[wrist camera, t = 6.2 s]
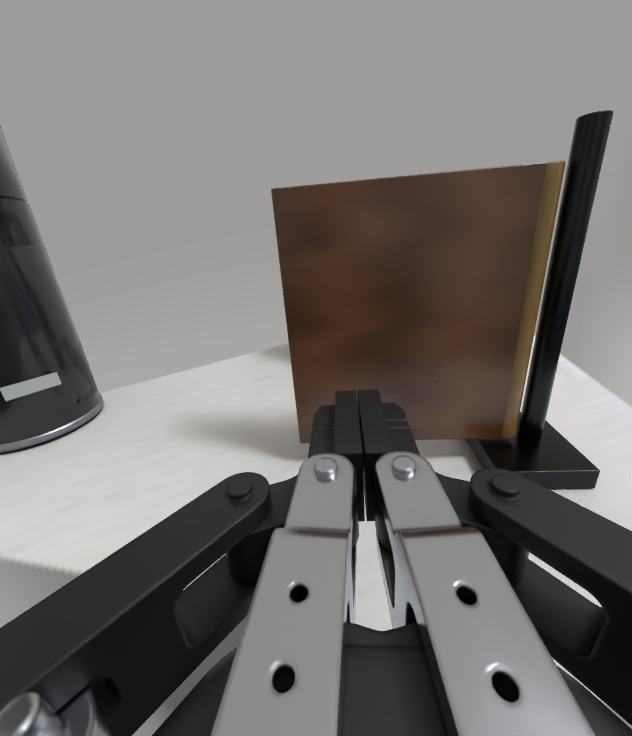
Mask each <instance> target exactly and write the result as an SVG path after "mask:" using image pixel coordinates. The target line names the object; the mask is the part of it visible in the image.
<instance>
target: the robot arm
mask: <svg viewBox="0 0 632 736" xmlns="http://www.w3.org/2000/svg"><path fill="white" fill-rule="evenodd" d="M43 244H44V243H43V241H42V238H41V235H40V233H39V230H38V227H37V225H36V222H35V219H34V217H33V214H32V211H31V209H30V206H29V204H28V203H27V198H26V195H25V193H24V190H23V188H22V185H21V183H20V180H19V177H18V174H17V172H16V169H15V166H14V163H13V160H12V157H11V155H10V152H9V149H8V146H7V144H6V141H5V138H4V135H3V132H2V130H1V127H0V452H7V451H13V450H17V449H22V448H26V447H29V446H33V445H36V444H39V443H43V442H45V441H48V440H51V439H53V438H56V437H59V436H61V435H63V434H65V433H67V432H70V431H72V430H74V429H75V428H77V427H79V426H81V425H83V424H84V423H86V422H87V421H89V420H90V419H92V418H93V417H94V416H95V415H97V414H98V413H99V412H100V410H101V409H102V407H103V405H104V401H103V399H102V396H101V394H100V393H99V392H98V389H97V387H96V384H95V381H94V379H93V376H92V373H91V370H90V367H89V364H88V362H87V359H86V356H85V353H84V351H83V348H82V345H81V342H80V340H79V337H78V335H77V332H76V329H75V326H74V324H73V321H72V318H71V316H70V313H69V310H68V308H67V305H66V302H65V300H64V297H63V294H62V291H61V289H60V286H59V284H58V281H57V278H56V275H55V273H54V270H53V267H52V265H51V262H50V259H49V256H48V254H47V251H46V248H45V246H44V245H43ZM357 398H358V406H357ZM364 496H365V506H366V516H367V521H375V524H376V539H377V551H378V556H379V561H380V566H381V571H382V576H383V581H384V585H385V590H386V595H387V600H388V605H389V610H390V615H391V620H392V626H393V629H391V630H387V631H377V630H373V629H370V628H367V627H363V626H360V625H357V624H355V604H356V566H357V541H358V537H359V525H358V521H365V519H364ZM529 552H530V553H532V554H533V555H535V556H536V557H538V558H539V559H541V560H542V561H544V562H545V563H547V564H548V565H550V566H551V567H553V568H554V569H556V570H557V571H559V572H560V573H562V574H563V575H565V576H566V577H568V578H569V579H571V580H572V581H574V582H575V583H577V584H578V585H580V586H581V587H583V588H584V589H586V590H587V591H588V592H590V593H591V594H592V595H593V596H594V597H595V598H596V599H597V600H598V602H599V603H600V604H601V606H602V607H603V608H602V607H599V606H597V605H595V604H594V603H592V602H591V601H589V600H588V599H586V598H585V597H583V596H582V595H580V594H579V593H578V592H576V591H575V590H573V589H572V588H570V587H569V586H567V585H566V584H564V583H563V582H561V581H560V580H558V579H557V578H556V577H554V576H553V575H551V574H550V573H548V572H547V571H545V570H544V569H542V568H541V567H539V566H538V565H537V564H535V563H534V562H532V561H531V560H529V559H528V555H529ZM224 554H225V556H223V557H222V558H221V559H220V560H219V561H218V562H216V563H215V564H214V565H213V566H212V567H210V568H209V569H208V570H207V571H206V572H205V573H203V574H202V575H201V576H200V577H199V578H197V579H196V580H195V581H194V582H193V583H192V584H190V585H189V586H188V587H187V588H186V589H184V588H185V587H186V586H187V585H188V584H189V583H190V582H192V581H193V580H194V579H195V578H196V577H198V576H199V575H200V574H201V573H202V572H203V571H205V570H206V569H207V568H208V567H209V566H211V565H212V564H213V563H214V562H215V561H217V560H218V559H219V558H220V557H221V556H222V555H224ZM183 589H184V590H183ZM246 616H247V618H246V621H245V625H244V628H243V631H242V634H241V638H240V641H239V645H238V647H237V648H235V649H234V650H233V651H231V652H230V653H229V654H227V655H226V656H225V657H223V658H222V659H221V660H220V661H219V662H218V663H217V664H216V665H215V666H214V667H212V668H211V669H210V670H209V672H208V673H207V674H206V675H205V676H204V677H203V678H202V679H201V680H200V681H199V683H198V684H197V685H196V686H195V687H194V689H192V691H191V692H190V693H189V694H188V695H187V696H186V697H185V699H184V700H183V701H182V702H181V703H180V704H179V706H178V707H177V708H176V709H175V710H174V711H173V712H172V713H171V714H170V716H169V717H168V718H167V719H166V720H165V721H164V722H163V724H162V725H161V726H160V727H159V728H158V729H157V730H156V732H155V733H154V734H153V735H152V736H632V729H631V728H630V727H628V726H627V725H626V724H625V723H624V722H623V721H622V720H621V719H620V718H619V717H617V716H616V715H615V714H614V713H613V712H612V711H611V710H610V709H608V708H607V707H606V706H605V705H604V704H603V703H602V702H601V701H600V700H598V699H597V698H596V697H595V696H594V695H593V694H592V693H591V692H590V691H588V690H587V689H586V688H585V687H584V686H583V685H581V684H580V683H579V682H578V681H577V680H575V679H574V678H573V677H571V676H570V675H569V674H567V673H566V672H565V671H563V670H562V669H561V668H559V667H558V666H556V664H555V663H554V661H553V659H555V660H556V661H557V662H558V663H559V664H560V665H562V666H563V667H564V668H565V669H566V670H567V671H569V672H570V673H571V674H572V675H573V676H574V677H576V678H577V679H578V680H579V681H580V682H581V683H583V684H584V685H585V686H586V687H587V688H588V689H590V690H591V691H592V692H593V693H594V694H595V695H597V696H598V697H599V698H600V699H601V700H602V701H604V702H605V703H606V704H607V705H608V706H609V707H611V708H612V709H613V710H614V711H615V712H616V713H618V714H619V715H620V716H621V717H622V718H623V719H625V720H626V721H627V722H628V723H629V724H631V725H632V531H630V530H628V529H626V528H624V527H622V526H620V525H618V524H616V523H614V522H612V521H610V520H608V519H606V518H604V517H602V516H600V515H598V514H596V513H594V512H592V511H590V510H588V509H586V508H584V507H582V506H580V505H578V504H577V503H575V502H573V501H571V500H569V499H567V498H565V497H563V496H561V495H559V494H557V493H555V492H553V491H551V490H549V489H547V488H545V487H543V486H541V485H539V484H537V483H535V482H533V481H531V480H529V479H527V478H525V477H523V476H521V475H519V474H517V473H514V472H512V471H509V470H505V469H499V468H486V469H482V470H479V471H477V472H475V473H474V474H473V475H472V477H471V480H470V482H469V481H464V480H459V479H454V478H450V477H446V476H443V475H441V474H438V473H436V472H435V471H434V470H433V468H432V466H431V464H430V463H429V462H428V461H427V460H426V459H425V458H423V457H422V456H420V454H419V451H418V448H417V445H416V443H415V440H414V437H413V434H412V432H411V429H410V426H409V423H408V421H407V418H406V415H405V412H404V410H403V409H402V408H401V407H399V406H398V405H397V404H396V403H382V402H381V398H380V394H379V390H378V389H373V390H357V397H356V390H351V391H335V405H321V406H320V407H319V408H318V409H317V410H316V412H315V413H314V416H313V424H312V432H311V439H310V447H309V454H308V459H307V460H305V461H304V462H303V463H302V465H301V467H300V469H299V473H298V475H296V476H295V477H293V478H291V479H288V480H286V481H282V482H279V483H275V484H271V485H269V483H268V481H267V480H266V478H265V477H263V476H262V475H260V474H257V473H252V472H245V473H239V474H235V475H232V476H230V477H228V478H226V479H225V480H223V481H221V482H220V483H218V484H217V485H215V486H214V487H212V488H211V489H209V490H208V491H206V492H205V493H203V494H202V495H200V496H199V497H197V498H196V499H194V500H193V501H191V502H190V503H188V504H187V505H185V506H184V507H182V508H181V509H179V510H178V511H176V512H175V513H173V514H172V515H170V516H169V517H167V518H166V519H164V520H163V521H161V522H160V523H158V524H157V525H155V526H154V527H152V528H151V529H149V530H148V531H146V532H145V533H143V534H142V535H140V536H139V537H137V538H136V539H134V540H133V541H131V542H129V543H128V544H126V545H125V546H123V547H122V548H120V549H119V550H117V551H116V552H114V553H113V554H111V555H110V556H108V557H107V558H105V559H104V560H102V561H101V562H99V563H98V564H96V565H95V566H93V567H92V568H90V569H89V570H87V571H86V572H84V573H83V574H81V575H80V576H78V577H77V578H75V579H74V580H72V581H71V582H69V583H68V584H66V585H65V586H63V587H62V588H60V589H59V590H57V591H56V592H54V593H53V594H51V595H50V596H48V597H47V598H45V599H44V600H42V601H41V602H39V603H38V604H36V605H35V606H33V607H32V608H30V609H29V610H27V611H25V612H24V613H22V614H21V615H19V616H18V617H16V618H15V619H14V620H12V621H11V622H9V623H7V624H6V625H4V626H3V627H1V628H0V736H131V735H133V734H134V733H135V732H136V731H137V730H138V728H139V727H140V726H141V725H142V724H143V723H144V722H145V721H146V720H147V719H148V718H149V717H150V716H151V715H152V714H153V713H154V712H155V711H156V710H157V709H158V708H159V707H160V705H161V704H162V703H163V702H164V701H165V700H166V699H167V698H168V697H169V696H170V695H171V694H172V693H173V692H174V691H175V690H176V689H177V687H179V686H180V685H181V684H182V682H183V681H184V680H185V679H186V678H187V677H188V676H189V675H190V674H191V673H192V672H193V671H194V670H195V669H196V668H197V667H198V666H199V665H200V663H202V662H203V660H204V659H205V658H206V657H207V656H208V655H209V654H210V653H211V652H212V651H213V650H214V649H215V648H216V647H217V646H218V645H219V644H220V643H221V642H222V641H223V640H224V639H225V637H226V636H227V635H228V634H229V633H230V632H231V631H232V630H233V629H234V628H235V627H236V626H237V625H238V624H239V623H240V622H241V621H242V620H243V619H244V618H245V617H246ZM552 658H553V659H552Z"/></svg>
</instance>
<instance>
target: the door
mask: <svg viewBox="0 0 632 736" xmlns="http://www.w3.org/2000/svg"><path fill="white" fill-rule="evenodd" d="M564 168H565V161H552V162H543V163H533V164H522V165H513V166H502V167H491V168H481V169H471V170H462V171H461V170H460V171H450V172H440V173H429V174H419V175H409V176H399V177H388V178H378V179H368V180H357V181H347V182H338V183H327V184H316V185H306V186H295V187H286V188H275V189H272V190H271V192H272V201H273V210H274V218H275V226H276V235H277V244H278V253H279V262H280V270H281V279H282V286H283V296H284V305H285V313H286V322H287V331H288V339H289V348H290V357H291V365H292V374H293V383H294V391H295V400H296V409H297V417H298V426H299V435H300V443H310V439H311V432H312V424H313V416H314V413H315V412H316V410H317V409H318V408H319V407H320V406H321V405H335V391H351V390H356V397H357V390H373V389H378V390H379V394H380V398H381V402H382V403H396V404H397V405H398V406H399V407H401V408H402V409H403V410H404V412H405V415H406V418H407V421H408V423H409V426H410V429H411V432H412V434H413V437H414V440H431V439H465V438H500V437H503V438H512V437H514V436H515V434H516V429H517V423H518V418H519V412H520V407H521V402H522V396H523V391H524V385H525V380H526V374H527V369H528V364H529V358H530V353H531V347H532V342H533V336H534V331H535V326H536V320H537V314H538V309H539V303H540V298H541V293H542V288H543V282H544V277H545V271H546V266H547V260H548V255H549V250H550V244H551V239H552V233H553V228H554V222H555V217H556V212H557V206H558V201H559V195H560V189H561V184H562V179H563V173H564ZM357 406H358V398H357Z"/></svg>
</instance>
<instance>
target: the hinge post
mask: <svg viewBox="0 0 632 736" xmlns="http://www.w3.org/2000/svg"><path fill="white" fill-rule="evenodd" d="M612 115H613V111H611V110H606V111H598V112H593V113H589V114H586V115H583V116H581V117H579V118H577V120H576V124H575V129H574V134H573V140H572V145H571V151H570V156H569V161H568V166H567V172H566V177H565V183H564V188H563V193H562V198H561V204H560V209H559V215H558V220H557V225H556V230H555V236H554V241H553V247H552V252H551V257H550V263H549V268H548V273H547V279H546V284H545V289H544V295H543V300H542V305H541V311H540V316H539V321H538V327H537V332H536V337H535V343H534V348H533V354H532V359H531V364H530V370H529V375H528V380H527V386H526V391H525V396H524V402H523V407H522V412H519V418H518V423H517V429H516V434H515V436H514V437H512V438H503V437H500V438H465V439H466V440H467V442H468V444H469V445H470V447H471V449H472V450H473V452H474V453H475V455H476V457H477V458H478V460H479V462H480V463H481V465H482V467H483V468H484V469H486V468H499V469H505V470H509V471H512V472H514V473H517V474H519V475H521V476H523V477H525V478H527V479H529V480H531V481H533V482H535V483H537V484H539V485H541V486H543V487H545V488H547V489H578V488H595V485H596V482H597V479H598V476H599V473H600V470H599V469H598V468H597V467H596V466H594V465H593V464H592V463H591V462H590V461H589V460H588V459H587V458H586V457H585V456H584V455H583V454H581V453H580V452H579V451H578V450H577V449H576V448H575V447H574V446H573V445H572V444H571V443H570V442H568V441H567V440H566V439H565V438H564V437H563V436H562V435H561V434H560V433H559V432H558V431H557V430H555V429H554V428H553V427H552V426H551V425H550V424H549V423H548V422H547V421H546V420H545V419H546V414H547V410H548V405H549V401H550V396H551V392H552V387H553V382H554V378H555V373H556V369H557V364H558V360H559V355H560V351H561V346H562V342H563V337H564V333H565V328H566V323H567V319H568V315H569V310H570V305H571V301H572V297H573V291H574V287H575V283H576V278H577V274H578V269H579V265H580V260H581V256H582V251H583V247H584V242H585V238H586V233H587V228H588V224H589V220H590V215H591V211H592V206H593V202H594V197H595V193H596V188H597V183H598V179H599V174H600V169H601V165H602V161H603V156H604V152H605V147H606V142H607V138H608V134H609V129H610V124H611V120H612Z"/></svg>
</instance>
